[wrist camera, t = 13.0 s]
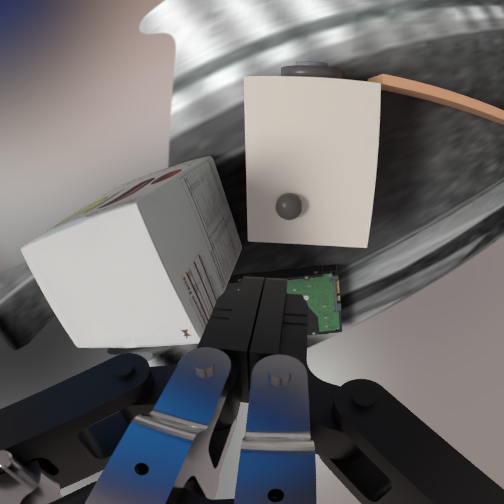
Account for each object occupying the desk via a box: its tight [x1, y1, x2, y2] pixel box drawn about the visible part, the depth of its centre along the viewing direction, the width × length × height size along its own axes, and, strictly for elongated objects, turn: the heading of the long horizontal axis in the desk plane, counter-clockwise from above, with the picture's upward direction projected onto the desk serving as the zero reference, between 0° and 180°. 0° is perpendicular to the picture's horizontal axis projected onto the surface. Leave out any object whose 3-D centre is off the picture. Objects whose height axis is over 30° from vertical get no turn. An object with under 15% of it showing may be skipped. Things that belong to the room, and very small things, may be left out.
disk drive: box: [228, 265, 342, 335], centre depth 43 cm, size 10×3×15 cm
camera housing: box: [244, 61, 381, 248], centre depth 29 cm, size 18×12×9 cm
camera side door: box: [368, 74, 504, 125], centre depth 24 cm, size 22×2×7 cm, turn 88°
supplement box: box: [21, 156, 242, 348], centre depth 33 cm, size 17×13×18 cm
